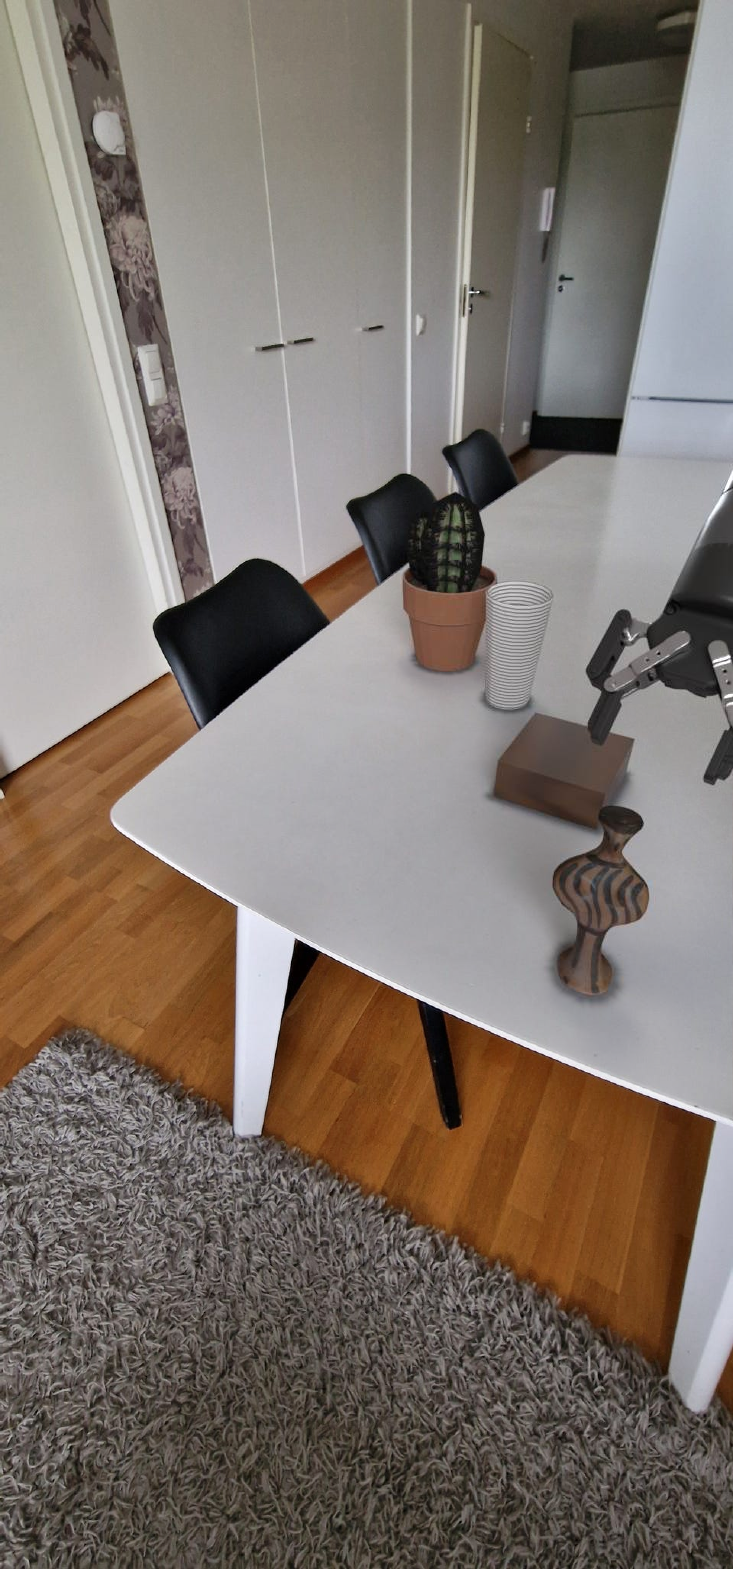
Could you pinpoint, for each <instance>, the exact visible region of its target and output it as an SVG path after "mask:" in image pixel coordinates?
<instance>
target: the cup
mask: <svg viewBox="0 0 733 1569" xmlns="http://www.w3.org/2000/svg"><path fill="white" fill-rule="evenodd" d="M554 597H555V596H554V593H553V591H552V590H551V589H549V588H548V587H547V586H546V585H542V584H539V583H536V582H530V581H525V580H507V581H500V582H497V584H494V585H492V586H490V587H489V588H488V589H487V590H486V622H485V679H484V680H485V685H484V686H485V687H484V688H485V692H484V693H485V694H484V695H485V700H486V702H487V703H488V704H489V705H490V706H492V707H495V708H496V709H502V710H517V709H518V710H519V709H521V708H523V707H525V706H527V704H528V703H529V701H530V697H531V694H532V688H533V685H534V681H535V676H536V673H537V668H538V663H539V659H540V655H541V652H542V647H543V643H544V638H545V635H546V630H547V626H548V623H549V618H550V614H551V609H552V605H553V602H554Z"/></svg>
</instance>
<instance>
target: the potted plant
mask: <svg viewBox="0 0 733 1569" xmlns="http://www.w3.org/2000/svg"><path fill="white" fill-rule="evenodd" d="M406 532H407V533H406V538H405V540H406V541H405V551H406V556H407V562H408V568H407V569H405V570H404V571H403V572H402V577H401V578H402V580H401V581H402V604H403V605H402V608H403V611H404V612H405V613H406V615H407V616H408V621H409V625H410V626H409V627H410V631H411V636H412V637H411V638H412V642H413V648H414V652H415V659H416V660H417V663H418V664H420V665H421V666H422V667H424V668H426V669H428V670H431V671H437V672H457V671H461V670H463V669H466V668H468V667H469V666H471V665H472V664H473V662H474V661H475V657H476V654H477V651H478V649H479V648H478V647H479V645H480V641H481V638H482V635H483V631H484V628H485V626H486V590H487V589H488V588H489V587H490V586H492V585H494V584H497V583H498V574H497V573H496V572H495V571H493V569H492V568H490V567H489V566H485V565H483V557H484V547H485V539H486V538H485V537H486V533H485V529H484V525H483V521H482V516H481V514H480V509H479V507H478V504H476V503H475V502H473V501H472V500H470V499H468V498H467V497H466V496H464V495H462V494H460V493H459V492H458V491H454V492H452V493H450V494H447V495H445V496H444V497H442V498H440V499H438V500H436V501H435V502H434V504H433V505H431V508H430V510H429V511H426V510H424V509H422V510H421V511H420V512H419V513H417V514H416V515H415V516H414V517H413V518H411V519H410V520H409V523H408V527H407V531H406Z"/></svg>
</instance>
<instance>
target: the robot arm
mask: <svg viewBox="0 0 733 1569" xmlns="http://www.w3.org/2000/svg"><path fill="white" fill-rule="evenodd" d="M730 472H731V473H730V474H729V477H728V479H727V481H726V483H725V485H724V487H723V490H722V491H721V494H720V496H719V498H718V500H717V502H716V504H715V506H714V507H713V509H712V510H711V511H710V513H709V515H708V516H707V518H706V519H705V521H704V523H703V525H702V527H701V529H700V531H699V533H698V535H697V537H696V539H695V541H694V544H693V545H692V548H691V550H690V552H689V554H688V556H687V559H686V560H685V562H684V565H683V567H682V569H681V571H680V574H679V575H678V578H677V580H676V582H675V584H674V587H673V589H672V590H671V593H670V595H669V597H668V599H667V601H666V603H665V606H664V608H663V610H662V612H661V614H660V615H659V616H658V617H657V618H656V619H655V620H653V621H652V622H649V621H647V620H642V619H639V618H636V617H633V616H632V614H631V611H629V610H628V609H625V608H622V609H619V610H618V611H617V612H616V613H615V614H614V616H613V618H612V620H611V622H610V623H609V624H608V627H607V628H606V631H605V632H604V634H603V636H602V638H601V640H600V642H599V644H598V646H597V647H596V649H595V651H594V653H593V655H592V657H591V659H590V660H589V663H588V664H587V666H586V668H585V675H586V676H587V678H588V680H589V682H590V684H591V686H592V687H593V688H594V689H595V688H596V689H598V691H600V695H599V697H598V700H597V702H596V704H595V706H594V708H593V710H592V713H591V715H590V716H589V718H588V721H587V726H588V728H587V729H588V731H589V733H590V734H591V736H590V739H591V740H592V742H593V743H595V744H598V745H600V746H603V744H604V743H605V741H606V738H607V736H608V734H609V732H611V730H612V727H613V725H614V723H615V721H616V719H617V717H618V715H619V713H620V710H621V708H622V706H623V704H622V702H621V701H623V700H624V699H626V698H627V697H629V696H631V695H632V694H634V693H636V692H638V691H641V690H645V689H648V688H649V687H651V686H653V685H654V684H656V683H658V682H661V683H663V684H664V687H665V688H669V689H672V690H685V691H688V692H689V693H691V694H693V695H695V696H697V697H700V698H703V699H707V697H714V696H718V699H719V702H720V705H721V708H722V711H723V714H724V715H725V718H726V722H727V724H728V729H724V730H723V732H722V735H721V736H720V739H719V741H718V742H717V745H716V748H715V750H714V752H713V754H712V756H711V759H710V761H709V763H708V765H707V766H706V768H705V772H704V774H703V778H702V779H703V783H705V784H708V785H710V786H715V785H716V783H717V780H720V781H726V780H727V779H728V778H729V777H730V776H731V775H732V772H733V469H732V470H731V471H730ZM643 638H644V639H646V641H647V645H648V649H649V650H648V651H646V652H645V653H643V654H641V655H640V656H638V657H636V658H634V659H633V660H632V661H630V662H629V663H628V665H627V666H626V667H624V668H623V669H621V670H619V671H617V672H616V673H614V674H613V675H612V672H613V671H614V669H615V666H616V665H617V663H618V661H619V659H620V657H621V655H622V654H623V652H624V650H625V648H626V647H632V646H634V645H635V644H636V643H637V642H638V641H639V640H641V639H643Z"/></svg>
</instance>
